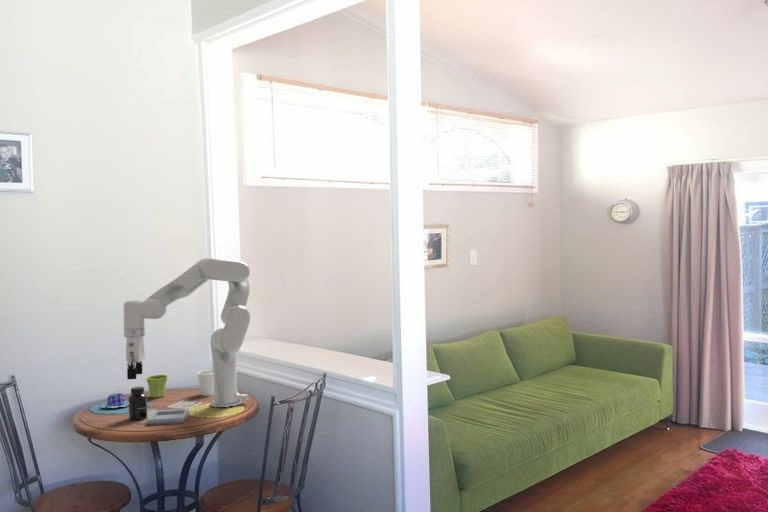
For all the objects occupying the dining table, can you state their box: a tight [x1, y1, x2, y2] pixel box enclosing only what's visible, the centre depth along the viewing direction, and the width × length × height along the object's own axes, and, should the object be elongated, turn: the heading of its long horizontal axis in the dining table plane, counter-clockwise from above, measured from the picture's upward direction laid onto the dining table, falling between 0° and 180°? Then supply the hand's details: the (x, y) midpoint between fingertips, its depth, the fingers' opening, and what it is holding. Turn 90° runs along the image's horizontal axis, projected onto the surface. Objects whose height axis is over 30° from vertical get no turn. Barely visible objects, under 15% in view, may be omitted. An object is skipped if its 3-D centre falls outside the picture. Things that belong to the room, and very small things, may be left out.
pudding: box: [106, 392, 127, 407], centre depth 280 cm, size 12×12×5 cm
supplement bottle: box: [127, 386, 148, 421], centre depth 260 cm, size 7×7×12 cm
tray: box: [147, 408, 190, 426], centre depth 258 cm, size 13×13×2 cm
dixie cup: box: [196, 369, 214, 397], centre depth 297 cm, size 8×8×10 cm
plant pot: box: [145, 374, 169, 399], centre depth 296 cm, size 9×9×9 cm
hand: (135, 376), depth 260 cm, fingers open, 9 cm apart
